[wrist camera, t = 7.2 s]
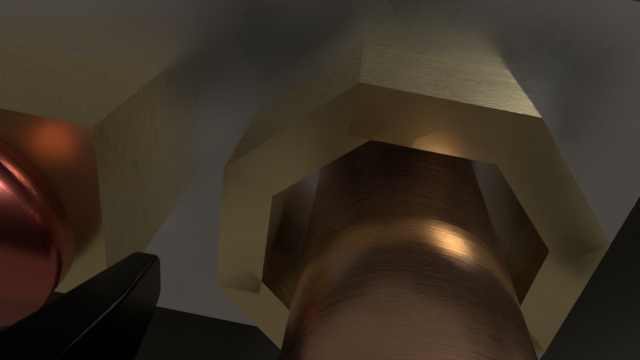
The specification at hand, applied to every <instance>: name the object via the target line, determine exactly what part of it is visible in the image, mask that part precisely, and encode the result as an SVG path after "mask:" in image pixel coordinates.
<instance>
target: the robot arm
mask: <svg viewBox="0 0 640 360" xmlns="http://www.w3.org/2000/svg"><path fill="white" fill-rule="evenodd" d="M160 291H161V271H160V259H159V257H158V256H157V255H154V254H149V253H144V252H134V253H132V254H131V255H129V256H127V257H125V258H124V259H122V260H120V261H119V262H117V263H115V264H114V265H112V266H110V267H109V268H107V269H105V270H104V271H102V272H100V273H98V274H97V275H95V276H93V277H92V278H90V279H88V280H87V281H85V282H83V283H82V284H80V285H78V286H76V287H75V288H73V289H71V290H70V291H68V292H66V293H65V294H63V295H61V296H60V297H58V298H56V299H55V300H53V301H51V302H49V303H48V304H46V305H44V306H43V307H41V308H39V309H38V310H36V311H34V312H33V313H31V314H29V315H27V316H26V317H24V318H22V319H21V320H19V321H17V322H16V323H14V324H12V325H11V326H9V327H7V328H6V329H4V330H2V331H0V360H134V359H135V357H136V354H137V352H138V349H139V347H140V345H141V342H142V340H143V337H144V335H145V332H146V330H147V327H148V325H149V322H150V320H151V317H152V315H153V312H154V310H155V307H156V305H157V302H158V300H159V296H160Z"/></svg>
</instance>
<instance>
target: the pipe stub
mask: <svg viewBox="0 0 640 360" xmlns="http://www.w3.org/2000/svg"><path fill="white" fill-rule="evenodd" d="M279 360H538V358H537V355H536V352H535V349H534V346H533V343H532V340H531V337H530V334H529V331H528V328H527V325H526V322H525V320H524V317H523V314H522V311H521V308H520V305H519V302H518V299H517V296H516V293H515V290H514V287H513V284H512V281H511V278H510V275H509V273H508V270H507V267H506V264H505V261H504V258H503V255H502V252H501V249H500V246H499V243H498V240H497V237H496V234H495V231H494V229H493V226H492V223H491V220H490V217H489V214H488V211H487V208H486V205H485V202H484V199H483V196H482V193H481V190H480V187H479V184H478V182H477V179H476V176H475V173H474V170H473V168H472V167H471V165H470V163H469V161H468V160H467V159H466V158H462V157H457V156H452V155H447V154H442V153H436V152H431V151H426V150H421V149H416V148H411V147H406V146H401V145H396V144H390V143H385V142H380V141H375V140H369V141H367V142H365V143H364V144H362V145H360V146H359V147H357V148H355V149H353V150H352V151H350V152H348V153H346V154H345V155H343V156H341V157H340V158H338V159H336V160H334V161H333V162H331V163H329V164H327V165H326V166H324V168H323V170H322V172H321V175H320V177H319V181H318V185H317V190H316V194H315V199H314V203H313V208H312V212H311V217H310V221H309V226H308V230H307V235H306V239H305V244H304V248H303V253H302V257H301V262H300V266H299V271H298V275H297V280H296V284H295V289H294V293H293V298H292V302H291V307H290V311H289V316H288V320H287V325H286V329H285V334H284V338H283V343H282V347H281V352H280V356H279Z"/></svg>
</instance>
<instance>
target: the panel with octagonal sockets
mask: <svg viewBox="0 0 640 360" xmlns="http://www.w3.org/2000/svg"><path fill="white" fill-rule="evenodd" d="M369 140H375V141H380V142H385V143H390V144H396V145H401V146H406V147H411V148H416V149H421V150H426V151H431V152H436V153H442V154H447V155H452V156H457V157H462V158H466V159H467V160H468V161H469V163H470V165H471V167H472V168H473V170H474V173H475V176H476V179H477V182H478V184H479V187H480V190H481V193H482V196H483V199H484V202H485V205H486V208H487V211H488V214H489V217H490V220H491V223H492V226H493V229H494V231H495V234H496V237H497V240H498V243H499V246H500V249H501V252H502V255H503V258H504V261H505V264H506V267H507V270H508V273H509V275H510V278H511V281H512V284H513V287H514V290H515V293H516V296H517V299H518V302H519V305H520V308H521V311H522V314H523V317H524V320H525V322H526V325H527V328H528V331H529V334H530V337H531V340H532V343H533V346H534V349H535V352H536V355H537V358H538V360H540V359H541V357H542V355H543V354H544V352H545V351H546V350H547V348H548V346H549V345H550V343H551V341H552V340H553V338H554V336H555V335H556V333H557V332H558V330H559V328H560V327H561V325H562V323H563V322H564V320H565V319H566V317H567V315H568V314H569V312H570V310H571V309H572V307H573V305H574V304H575V302H576V301H577V299H578V297H579V296H580V294H581V292H582V291H583V289H584V287H585V286H586V284H587V283H588V281H589V279H590V278H591V276H592V274H593V273H594V271H595V270H596V268H597V266H598V265H599V263H600V261H601V260H602V258H603V256H604V255H605V253H606V252H607V250H608V248H609V247H610V244H611V243H612V241H613V239H614V238H615V236H616V234H617V233H618V231H619V229H620V228H621V226H622V225H623V223H624V221H625V220H626V218H627V216H628V215H629V213H630V211H631V210H632V208H633V207H634V205H635V203H636V202H637V200H638V198H639V197H640V0H0V327H3V326H9V325H12V324H14V323H16V322H17V321H19V320H21V319H22V318H24V317H26V316H27V315H29V314H31V313H33V312H34V311H36V310H38V309H39V308H40V307H41V306H42V305H43V304H44V302H45V301H46V300H47V299H48V298H49V296H50V295H51V294H52V293H53V292H54V291H56V292H61V293H66V292H68V291H70V290H71V289H73V288H75V287H76V286H78V285H80V284H82V283H83V282H85V281H87V280H88V279H90V278H92V277H93V276H95V275H97V274H98V273H100V272H102V271H104V270H105V269H107V268H109V267H110V266H112V265H114V264H115V263H117V262H119V261H120V260H122V259H124V258H125V257H127V256H129V255H131V254H132V253H134V252H144V253H149V254H154V255H157V256H158V257H159V259H160V271H161V291H160V296H159V300H158V302H157V305H156V306H159V307H163V308H168V309H173V310H178V311H183V312H188V313H193V314H198V315H203V316H208V317H213V318H218V319H223V320H228V321H233V322H238V323H242V324H247V325H252V326H257V327H258V328H259V329H260V330H261V331H262V332H263V333H264V334H265V335H266V336H267V337H268V338H269V339H270V340H271V341H272V342H273V343H274V344H275V345H276V346H278V347H279V348H280V349H281V347H282V343H283V338H284V334H285V329H286V325H287V320H288V316H289V311H290V307H291V302H292V298H293V293H294V289H295V284H296V280H297V275H298V271H299V266H300V262H301V257H302V253H303V248H304V244H305V239H306V235H307V230H308V226H309V221H310V217H311V212H312V208H313V203H314V199H315V194H316V190H317V185H318V181H319V177H320V175H321V172H322V170H323V168H324V166H326V165H327V164H329V163H331V162H333V161H334V160H336V159H338V158H340V157H341V156H343V155H345V154H346V153H348V152H350V151H352V150H353V149H355V148H357V147H359V146H360V145H362V144H364V143H365V142H367V141H369Z"/></svg>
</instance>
